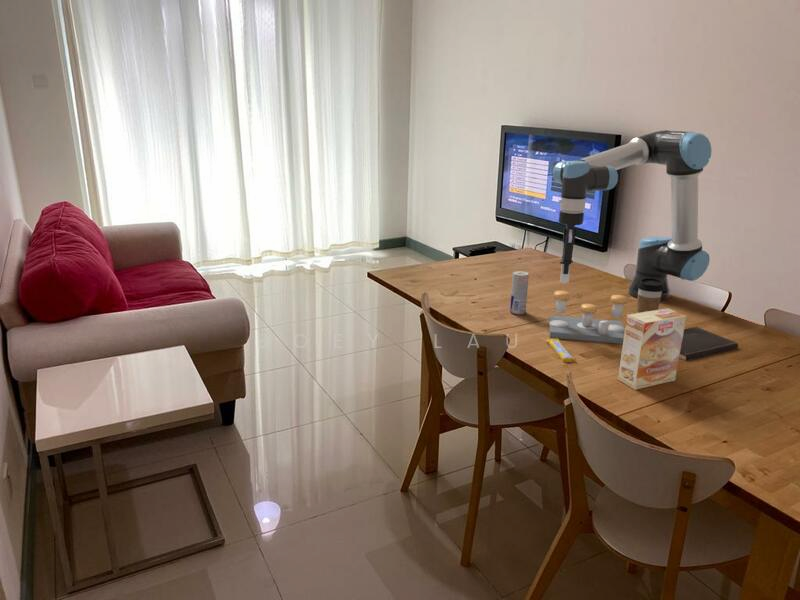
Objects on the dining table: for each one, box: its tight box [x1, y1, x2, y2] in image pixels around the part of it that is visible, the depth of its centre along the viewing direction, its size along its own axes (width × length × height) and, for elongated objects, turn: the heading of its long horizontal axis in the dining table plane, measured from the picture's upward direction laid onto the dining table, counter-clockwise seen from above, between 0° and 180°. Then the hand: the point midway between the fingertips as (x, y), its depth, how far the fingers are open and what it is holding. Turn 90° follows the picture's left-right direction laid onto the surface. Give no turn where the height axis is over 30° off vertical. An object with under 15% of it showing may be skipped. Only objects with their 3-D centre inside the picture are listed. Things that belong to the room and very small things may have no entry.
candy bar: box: [545, 338, 577, 364], centre depth 189 cm, size 17×4×2 cm, turn 5°
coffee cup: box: [636, 278, 664, 313], centre depth 213 cm, size 8×8×15 cm
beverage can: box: [509, 270, 529, 315], centre depth 221 cm, size 6×6×15 cm
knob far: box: [553, 290, 571, 314], centre depth 204 cm, size 5×5×7 cm
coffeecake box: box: [617, 307, 687, 391], centre depth 168 cm, size 15×7×20 cm, turn 114°
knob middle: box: [580, 303, 598, 327], centre depth 204 cm, size 5×5×7 cm
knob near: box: [610, 294, 628, 319], centre depth 201 cm, size 5×5×7 cm
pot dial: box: [598, 321, 609, 336], centre depth 198 cm, size 3×3×4 cm
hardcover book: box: [679, 326, 739, 362], centre depth 195 cm, size 16×23×2 cm
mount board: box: [548, 314, 625, 345], centre depth 205 cm, size 24×16×2 cm, turn 78°
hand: (564, 282), depth 202 cm, fingers closed
